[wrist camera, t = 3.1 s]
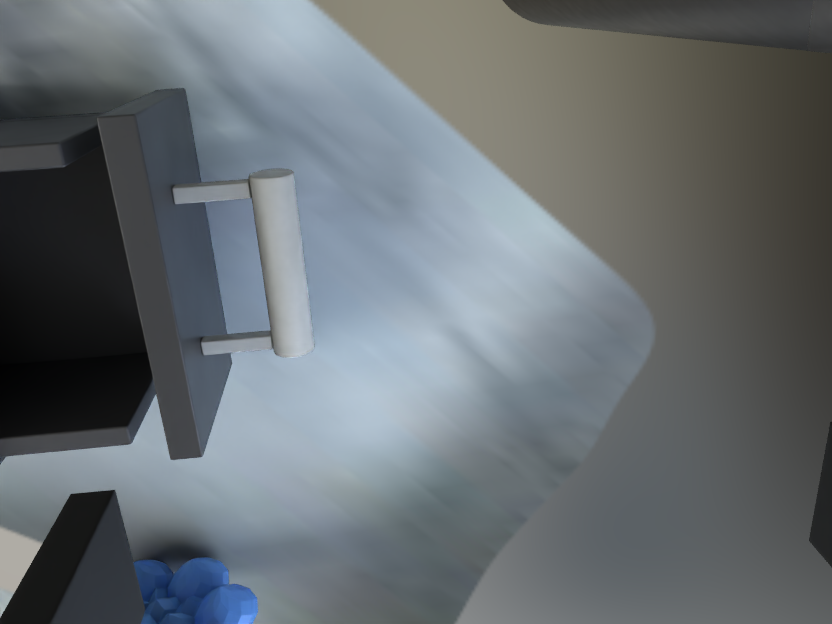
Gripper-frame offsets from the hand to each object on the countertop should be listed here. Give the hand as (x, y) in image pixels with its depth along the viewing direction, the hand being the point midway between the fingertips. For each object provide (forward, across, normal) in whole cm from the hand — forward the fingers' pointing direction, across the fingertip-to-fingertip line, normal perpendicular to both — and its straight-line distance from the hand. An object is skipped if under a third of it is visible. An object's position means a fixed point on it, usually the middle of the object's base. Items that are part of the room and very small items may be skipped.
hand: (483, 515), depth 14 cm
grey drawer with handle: (+21, -14, 0) cm, 25 cm away
